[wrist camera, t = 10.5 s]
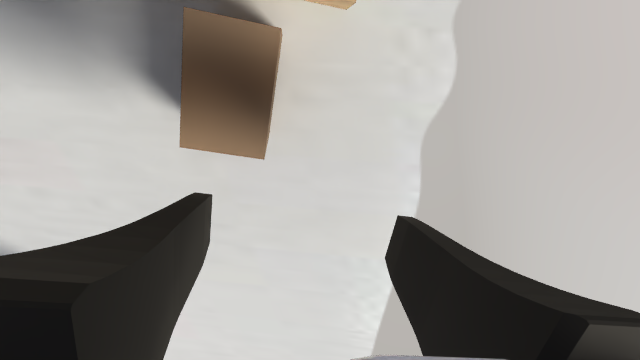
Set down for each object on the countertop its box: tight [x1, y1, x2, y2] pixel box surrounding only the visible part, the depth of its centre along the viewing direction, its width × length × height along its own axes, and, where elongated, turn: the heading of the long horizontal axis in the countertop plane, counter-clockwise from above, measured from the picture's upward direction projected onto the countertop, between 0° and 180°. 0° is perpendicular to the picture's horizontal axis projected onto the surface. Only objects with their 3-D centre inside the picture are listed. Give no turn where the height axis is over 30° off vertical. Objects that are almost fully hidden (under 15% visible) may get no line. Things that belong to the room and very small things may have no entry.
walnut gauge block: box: [180, 7, 282, 159], centre depth 16 cm, size 6×4×5 cm, turn 169°
